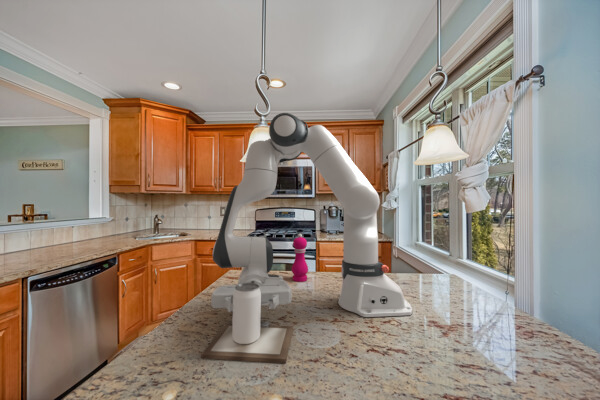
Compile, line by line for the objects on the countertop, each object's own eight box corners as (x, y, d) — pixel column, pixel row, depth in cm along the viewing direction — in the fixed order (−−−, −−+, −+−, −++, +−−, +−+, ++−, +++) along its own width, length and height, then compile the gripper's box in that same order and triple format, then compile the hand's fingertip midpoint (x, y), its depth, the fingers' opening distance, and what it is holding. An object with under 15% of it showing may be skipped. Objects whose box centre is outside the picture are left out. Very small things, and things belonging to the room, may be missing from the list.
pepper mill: (308, 277, 111) (308, 232, 111) (307, 282, 104) (307, 234, 104) (292, 277, 112) (292, 232, 112) (290, 282, 105) (290, 234, 105)
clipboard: (293, 328, 65) (293, 323, 65) (285, 363, 51) (285, 355, 51) (226, 325, 67) (226, 320, 67) (201, 358, 52) (201, 350, 52)
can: (232, 331, 61) (233, 283, 61) (259, 329, 62) (260, 281, 63) (231, 347, 55) (232, 292, 55) (260, 343, 56) (261, 290, 56)
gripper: (215, 278, 70) (205, 296, 56) (287, 275, 73) (294, 291, 60) (215, 301, 70) (205, 324, 56) (287, 296, 73) (294, 317, 60)
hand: (252, 307), depth 58 cm, fingers open, 8 cm apart
